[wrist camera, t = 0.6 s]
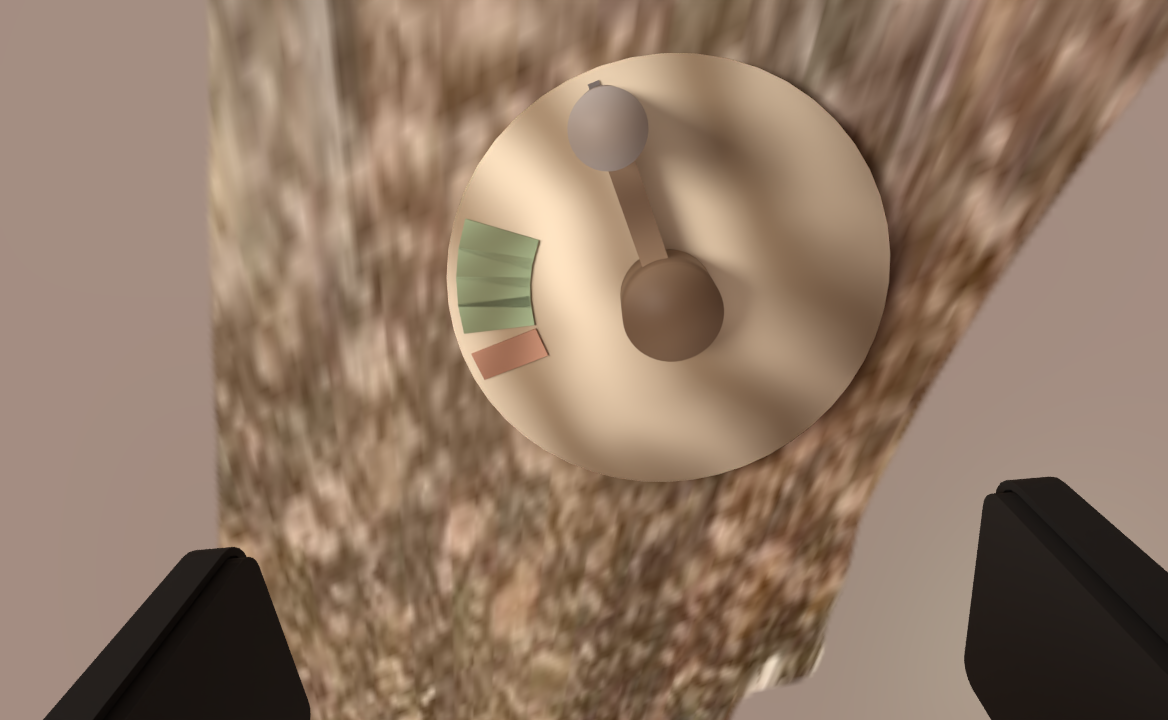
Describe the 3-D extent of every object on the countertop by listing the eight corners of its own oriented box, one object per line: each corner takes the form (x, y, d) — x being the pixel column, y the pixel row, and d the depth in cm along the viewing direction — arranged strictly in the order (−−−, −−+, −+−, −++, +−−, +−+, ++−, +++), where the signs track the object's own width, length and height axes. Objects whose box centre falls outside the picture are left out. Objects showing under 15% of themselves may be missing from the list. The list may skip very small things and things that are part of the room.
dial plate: (705, -59, 29) (711, -67, 27) (958, 307, 34) (975, 317, 33) (365, 261, 34) (354, 269, 33) (632, 531, 40) (634, 549, 38)
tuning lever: (724, 320, 33) (762, 392, 25) (637, 350, 34) (649, 428, 26) (643, 67, 29) (660, 61, 21) (546, 106, 30) (529, 115, 22)
